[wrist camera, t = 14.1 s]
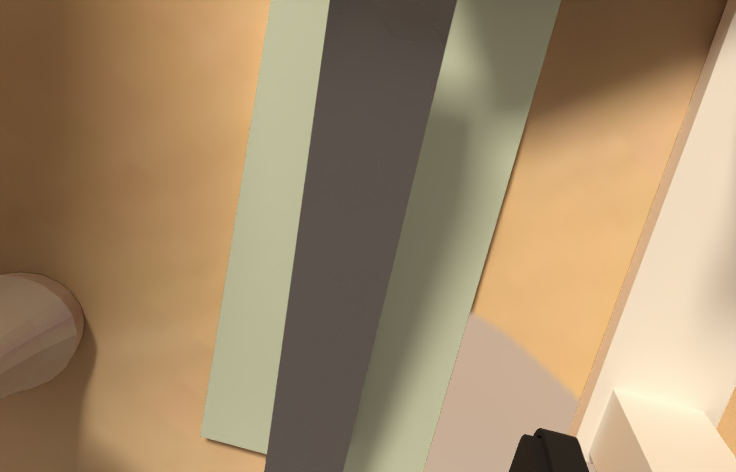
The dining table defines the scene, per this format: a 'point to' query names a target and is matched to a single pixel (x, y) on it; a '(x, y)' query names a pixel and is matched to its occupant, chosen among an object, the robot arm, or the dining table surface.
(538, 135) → the dining table surface
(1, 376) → the decorative mushroom
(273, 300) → the mat
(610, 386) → the rack
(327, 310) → the rail
